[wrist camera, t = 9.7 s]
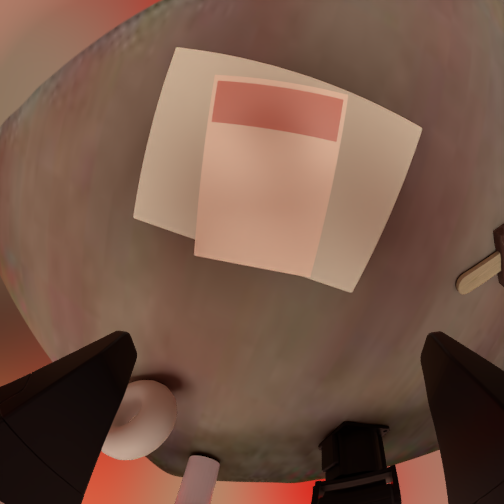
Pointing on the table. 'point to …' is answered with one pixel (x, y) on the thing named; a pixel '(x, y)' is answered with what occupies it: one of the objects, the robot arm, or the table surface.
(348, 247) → the mat
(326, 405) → the table surface
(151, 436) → the donut
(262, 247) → the card deck
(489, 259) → the ice cream bar
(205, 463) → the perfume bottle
